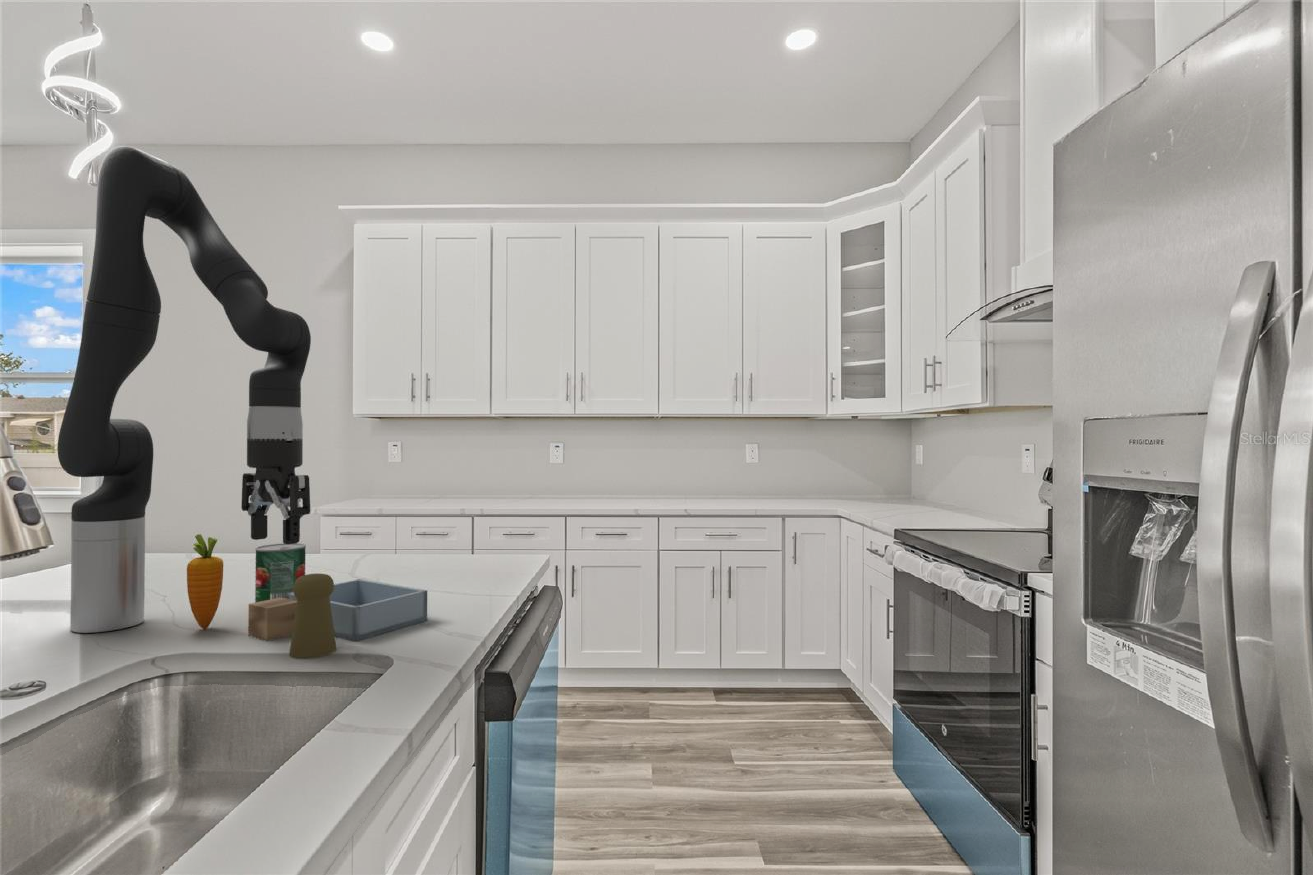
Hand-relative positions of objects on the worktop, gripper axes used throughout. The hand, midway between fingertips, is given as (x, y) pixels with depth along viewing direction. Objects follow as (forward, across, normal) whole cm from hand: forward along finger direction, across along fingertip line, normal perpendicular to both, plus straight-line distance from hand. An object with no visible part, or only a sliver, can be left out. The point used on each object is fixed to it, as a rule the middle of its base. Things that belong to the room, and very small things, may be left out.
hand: (274, 541), depth 104 cm
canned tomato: (+15, -15, +10) cm, 23 cm away
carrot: (+14, -12, -4) cm, 19 cm away
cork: (+15, +13, -2) cm, 20 cm away
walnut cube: (+14, 0, 0) cm, 15 cm away
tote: (+14, +5, +11) cm, 19 cm away
